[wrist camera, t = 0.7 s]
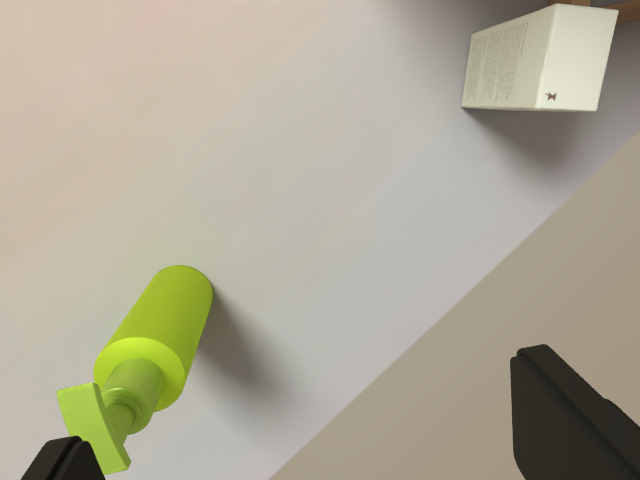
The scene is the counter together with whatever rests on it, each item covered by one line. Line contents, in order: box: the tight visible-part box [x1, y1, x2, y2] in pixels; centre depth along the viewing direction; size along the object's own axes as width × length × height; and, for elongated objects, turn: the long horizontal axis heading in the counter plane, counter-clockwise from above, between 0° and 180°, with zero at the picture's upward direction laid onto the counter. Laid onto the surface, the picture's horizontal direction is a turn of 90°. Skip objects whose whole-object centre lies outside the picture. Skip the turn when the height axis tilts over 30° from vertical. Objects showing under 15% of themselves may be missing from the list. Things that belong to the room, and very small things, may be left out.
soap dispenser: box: [57, 265, 213, 475], centre depth 32 cm, size 6×7×20 cm
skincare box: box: [461, 3, 619, 112], centre depth 33 cm, size 6×4×12 cm
